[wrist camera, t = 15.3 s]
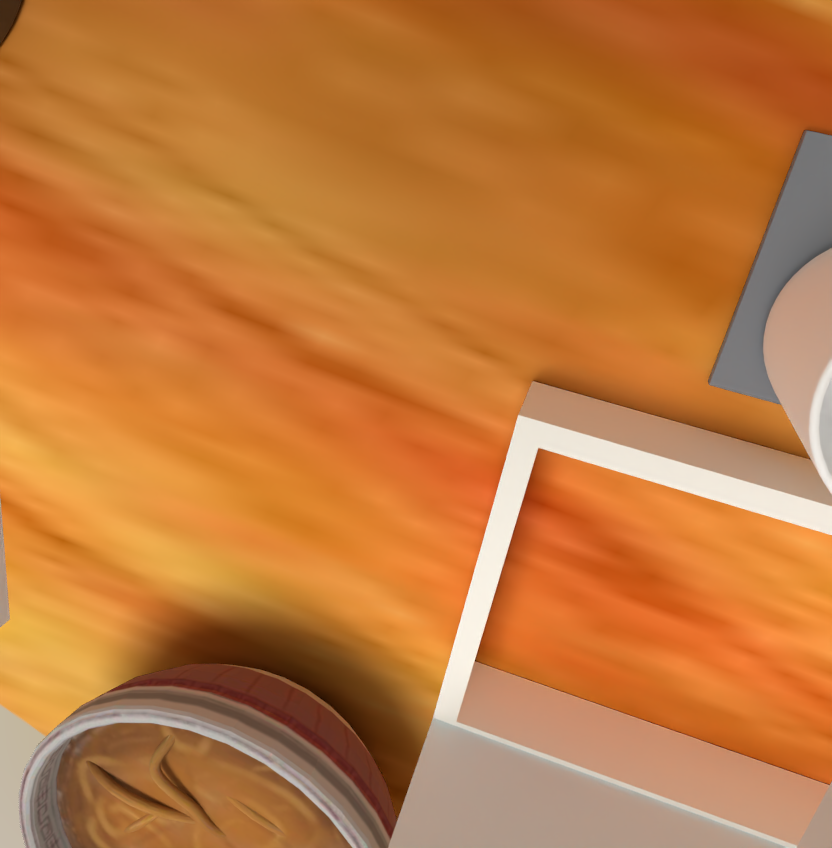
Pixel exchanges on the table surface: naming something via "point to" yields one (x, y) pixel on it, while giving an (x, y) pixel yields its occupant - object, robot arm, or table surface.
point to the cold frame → (586, 721)
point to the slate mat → (778, 265)
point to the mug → (805, 358)
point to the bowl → (205, 769)
